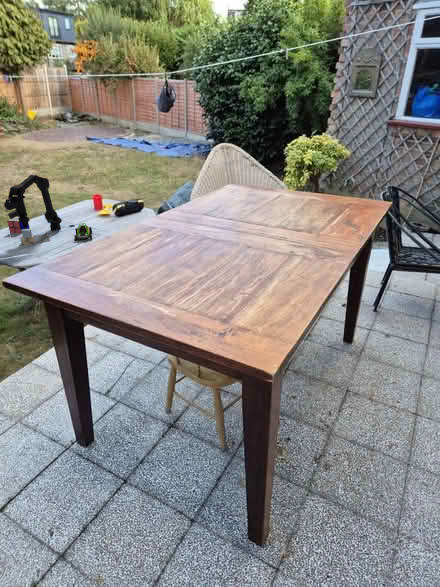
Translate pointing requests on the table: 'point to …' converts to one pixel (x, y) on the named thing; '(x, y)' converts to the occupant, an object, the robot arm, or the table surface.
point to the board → (39, 239)
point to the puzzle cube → (16, 225)
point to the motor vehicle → (83, 232)
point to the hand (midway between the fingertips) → (25, 229)
